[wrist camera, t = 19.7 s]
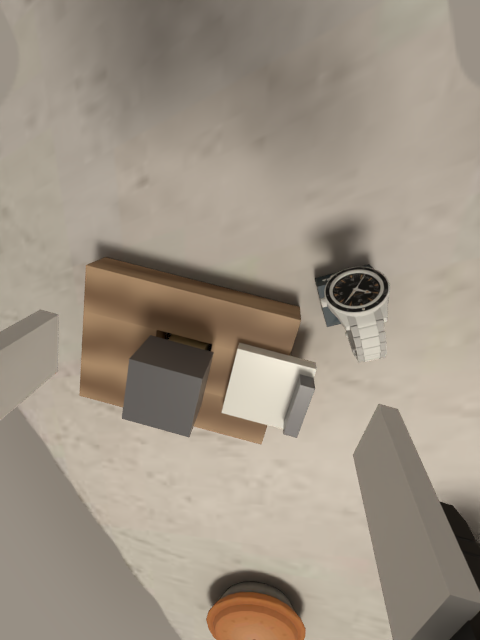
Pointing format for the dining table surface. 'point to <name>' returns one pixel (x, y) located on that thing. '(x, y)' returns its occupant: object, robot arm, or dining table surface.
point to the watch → (357, 308)
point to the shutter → (270, 388)
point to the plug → (167, 383)
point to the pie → (254, 615)
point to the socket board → (175, 332)
